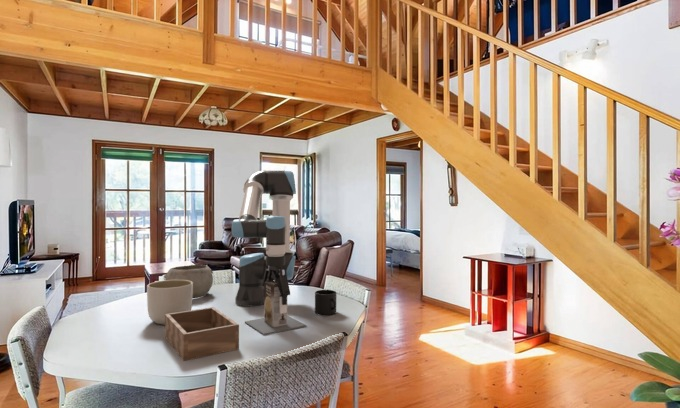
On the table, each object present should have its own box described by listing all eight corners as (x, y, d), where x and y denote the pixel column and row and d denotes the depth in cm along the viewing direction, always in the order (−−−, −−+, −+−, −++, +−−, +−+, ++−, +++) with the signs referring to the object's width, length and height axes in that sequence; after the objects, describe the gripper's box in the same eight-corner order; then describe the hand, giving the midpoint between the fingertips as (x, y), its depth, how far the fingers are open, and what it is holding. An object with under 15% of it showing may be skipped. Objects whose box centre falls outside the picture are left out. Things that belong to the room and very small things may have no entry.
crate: (164, 336, 142) (165, 314, 142) (213, 327, 152) (213, 307, 152) (183, 360, 121) (183, 334, 121) (238, 348, 131) (239, 324, 131)
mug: (326, 318, 166) (326, 296, 166) (310, 311, 175) (310, 291, 175) (344, 314, 171) (344, 293, 171) (328, 308, 181) (328, 288, 181)
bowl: (202, 289, 220) (202, 262, 220) (220, 296, 203) (221, 267, 203) (158, 295, 204) (158, 266, 204) (175, 304, 187) (175, 272, 187)
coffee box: (263, 321, 158) (263, 281, 158) (278, 319, 162) (278, 279, 162) (272, 327, 151) (273, 285, 151) (288, 325, 154) (288, 283, 154)
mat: (244, 322, 159) (244, 321, 159) (285, 315, 169) (285, 314, 169) (263, 335, 144) (263, 333, 144) (306, 326, 154) (306, 325, 154)
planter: (136, 324, 155) (136, 286, 155) (169, 313, 171) (169, 278, 171) (171, 330, 150) (171, 289, 149) (201, 317, 165) (201, 281, 165)
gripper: (254, 252, 165) (253, 303, 165) (281, 260, 144) (281, 318, 144) (270, 250, 169) (270, 300, 169) (299, 258, 149) (299, 314, 149)
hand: (275, 308), depth 157 cm, fingers open, 13 cm apart
